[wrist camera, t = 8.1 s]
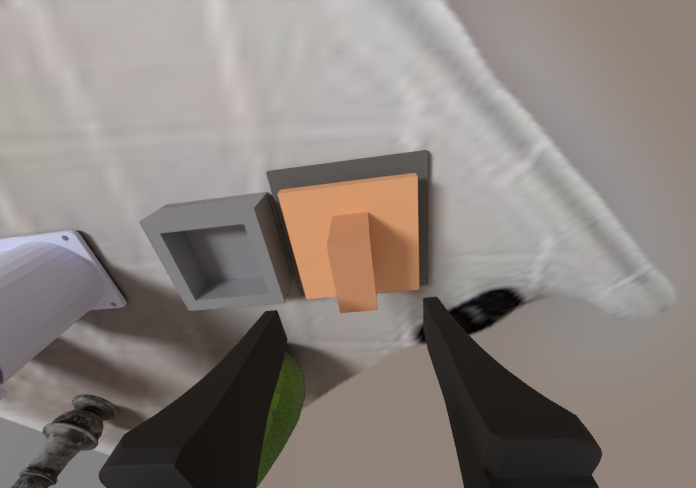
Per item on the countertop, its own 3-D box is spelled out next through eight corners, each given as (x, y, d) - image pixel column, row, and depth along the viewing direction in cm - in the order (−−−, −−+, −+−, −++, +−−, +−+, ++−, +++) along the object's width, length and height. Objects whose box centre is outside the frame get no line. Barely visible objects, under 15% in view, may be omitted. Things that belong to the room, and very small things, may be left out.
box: (206, 287, 25) (188, 310, 23) (165, 204, 21) (139, 221, 19) (292, 279, 24) (284, 302, 22) (266, 192, 21) (253, 208, 18)
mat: (301, 292, 25) (301, 295, 25) (267, 171, 20) (266, 172, 19) (426, 281, 24) (427, 284, 24) (426, 149, 19) (427, 151, 18)
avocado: (245, 317, 27) (175, 465, 17) (321, 343, 28) (300, 493, 18) (228, 365, 31) (161, 510, 20) (295, 386, 32) (265, 531, 22)
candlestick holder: (74, 414, 37) (-39, 545, 26) (66, 388, 34) (-63, 524, 24) (121, 423, 38) (30, 554, 27) (118, 399, 35) (15, 534, 24)
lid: (309, 285, 24) (297, 338, 19) (283, 184, 20) (258, 219, 15) (415, 275, 23) (430, 328, 18) (412, 168, 19) (432, 199, 14)
